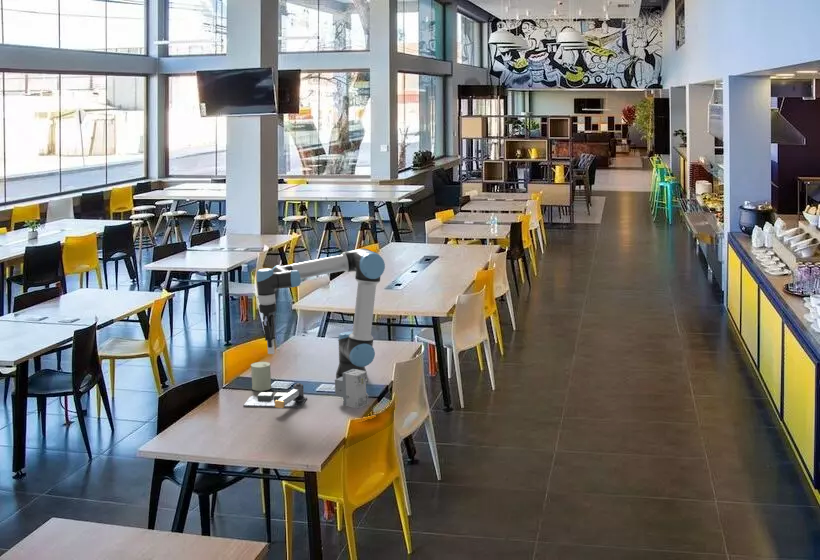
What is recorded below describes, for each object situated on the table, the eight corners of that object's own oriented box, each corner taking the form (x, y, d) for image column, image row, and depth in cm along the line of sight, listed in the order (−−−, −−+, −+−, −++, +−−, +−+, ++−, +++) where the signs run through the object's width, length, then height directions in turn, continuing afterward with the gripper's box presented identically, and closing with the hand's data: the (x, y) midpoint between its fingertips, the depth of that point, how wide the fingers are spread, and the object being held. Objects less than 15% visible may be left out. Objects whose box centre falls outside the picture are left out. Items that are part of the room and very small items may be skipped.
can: (262, 392, 438) (261, 367, 435) (247, 389, 442) (246, 364, 440) (275, 386, 445) (274, 362, 443) (260, 383, 450) (259, 359, 448)
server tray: (306, 398, 427) (306, 392, 427) (300, 408, 415) (300, 401, 414) (251, 397, 430) (251, 391, 430) (243, 406, 418) (243, 400, 417)
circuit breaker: (343, 398, 427) (342, 366, 424) (368, 403, 419) (367, 371, 416) (332, 402, 421) (331, 370, 418) (358, 408, 413) (357, 375, 410)
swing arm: (296, 395, 427) (296, 381, 426) (305, 396, 426) (304, 382, 425) (274, 411, 407) (274, 396, 406) (283, 412, 406) (283, 397, 404)
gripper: (262, 299, 428) (266, 349, 433) (255, 306, 415) (259, 357, 420) (278, 299, 427) (282, 349, 432) (271, 306, 414) (276, 357, 419)
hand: (271, 353), depth 426 cm, fingers closed
